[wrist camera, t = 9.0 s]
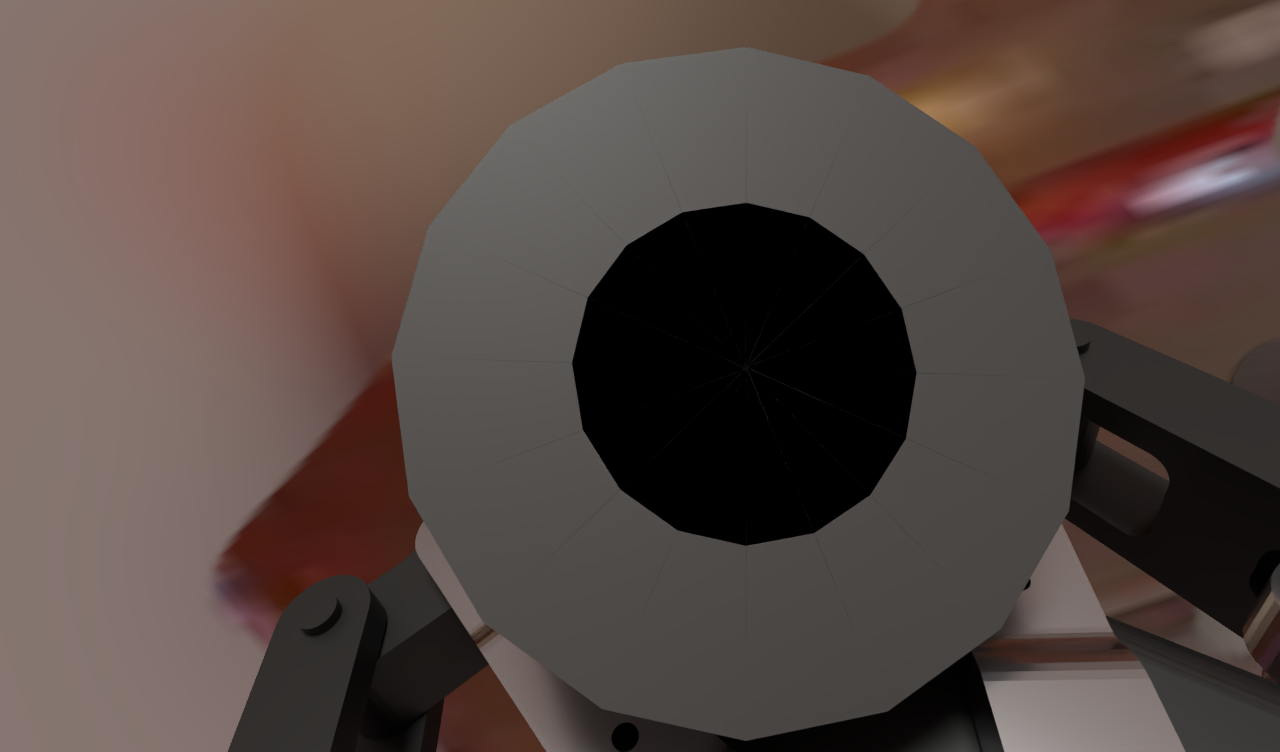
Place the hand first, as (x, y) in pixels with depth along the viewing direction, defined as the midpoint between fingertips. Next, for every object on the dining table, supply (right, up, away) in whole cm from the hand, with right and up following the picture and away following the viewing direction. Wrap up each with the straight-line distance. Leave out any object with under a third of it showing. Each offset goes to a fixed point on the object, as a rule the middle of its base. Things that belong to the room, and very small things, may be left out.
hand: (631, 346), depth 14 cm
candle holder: (0, -4, +17) cm, 18 cm away
